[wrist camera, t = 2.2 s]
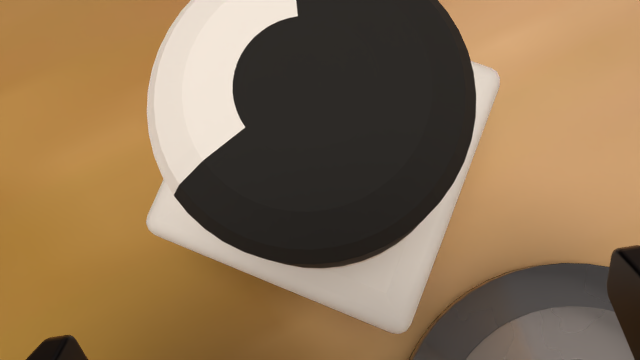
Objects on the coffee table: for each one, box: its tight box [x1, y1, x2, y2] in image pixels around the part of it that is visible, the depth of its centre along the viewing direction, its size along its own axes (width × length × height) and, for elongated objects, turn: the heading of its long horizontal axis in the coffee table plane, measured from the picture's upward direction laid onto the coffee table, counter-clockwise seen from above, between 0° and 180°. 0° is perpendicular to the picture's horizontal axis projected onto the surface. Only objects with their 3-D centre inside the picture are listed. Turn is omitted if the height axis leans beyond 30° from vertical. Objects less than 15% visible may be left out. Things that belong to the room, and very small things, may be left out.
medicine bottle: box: [146, 0, 500, 334], centre depth 16 cm, size 7×7×12 cm
